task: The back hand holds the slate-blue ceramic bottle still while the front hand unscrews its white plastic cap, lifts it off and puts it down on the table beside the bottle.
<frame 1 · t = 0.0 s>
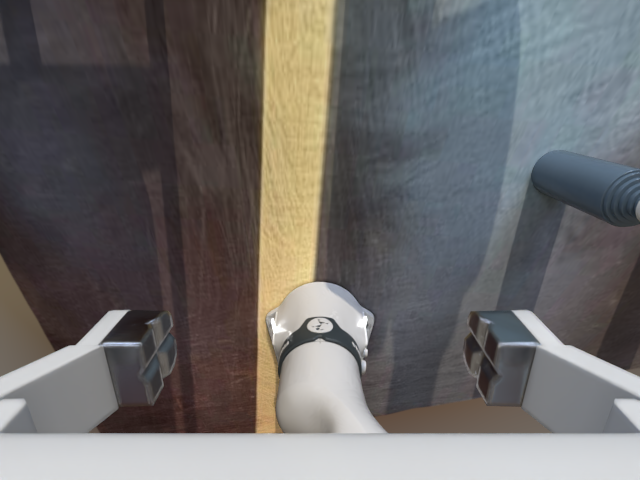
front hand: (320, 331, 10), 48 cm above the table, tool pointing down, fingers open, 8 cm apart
bottle: (554, 172, 57), on the table
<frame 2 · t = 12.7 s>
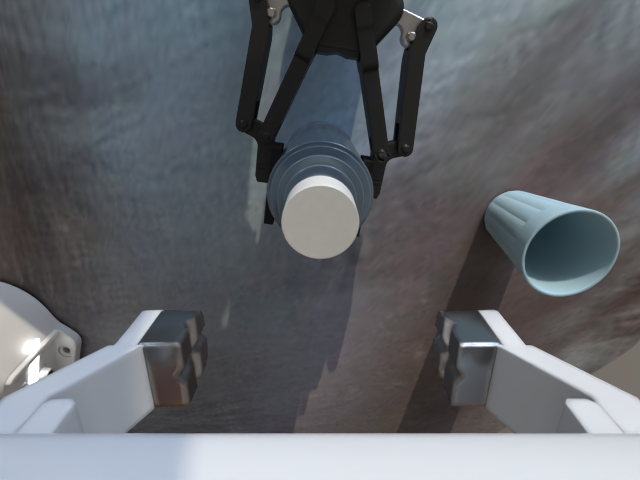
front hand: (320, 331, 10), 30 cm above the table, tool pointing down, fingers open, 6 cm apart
back hand: (311, 224, 34), fingers closed on bottle, 7 cm apart
cap: (320, 221, 19), point 20 cm above the table, screwed on, not yet turned
cup: (509, 215, 40), on the table
bottle: (320, 156, 38), on the table, touching back hand
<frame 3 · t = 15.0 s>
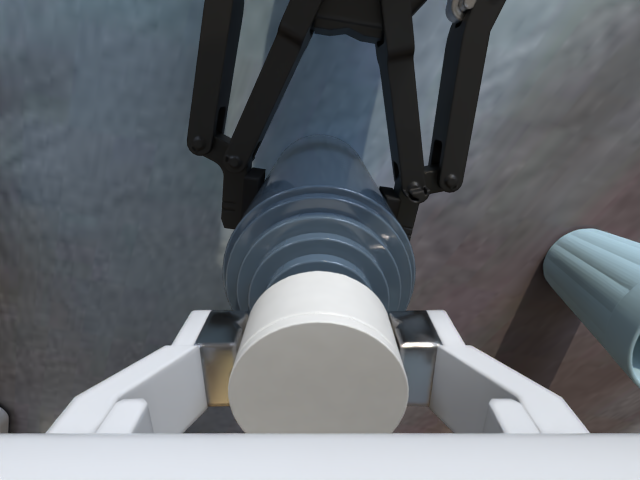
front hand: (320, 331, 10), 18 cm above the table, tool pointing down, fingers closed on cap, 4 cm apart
cap: (318, 388, 8), point 20 cm above the table, screwed on, not yet turned, touching front hand
cup: (576, 260, 30), on the table
bottle: (319, 182, 27), on the table, touching back hand
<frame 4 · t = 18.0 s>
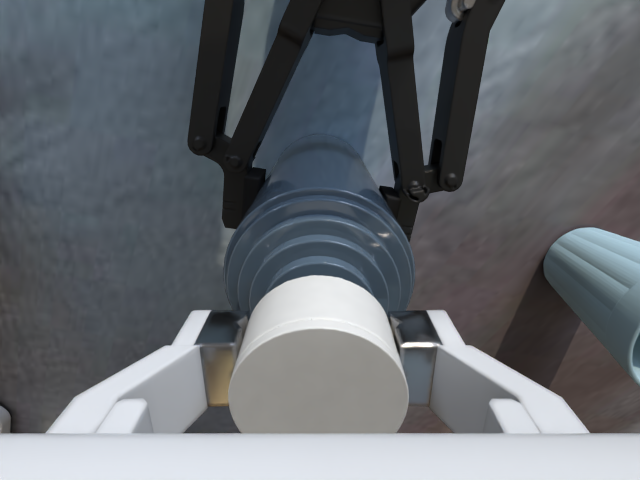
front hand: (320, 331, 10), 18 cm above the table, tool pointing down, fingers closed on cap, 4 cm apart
cap: (318, 393, 8), point 20 cm above the table, turned 88° so far, risen 0.1 cm, still on its thread, touching front hand
cup: (576, 259, 30), on the table
bottle: (319, 182, 27), on the table, touching back hand
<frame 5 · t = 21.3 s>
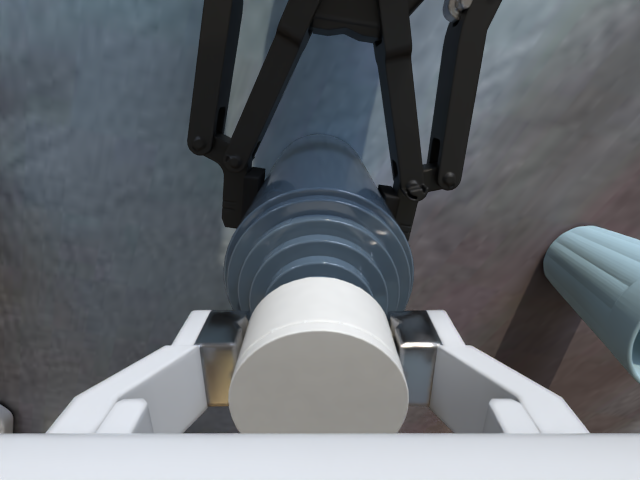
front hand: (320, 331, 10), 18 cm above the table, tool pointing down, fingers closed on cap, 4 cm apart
cap: (318, 395, 8), point 21 cm above the table, turned 176° so far, risen 0.2 cm, still on its thread, touching front hand
cup: (576, 257, 30), on the table
bottle: (318, 181, 27), on the table, touching back hand
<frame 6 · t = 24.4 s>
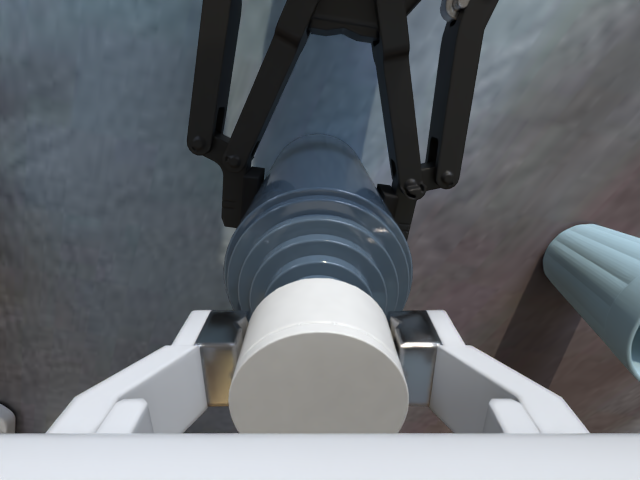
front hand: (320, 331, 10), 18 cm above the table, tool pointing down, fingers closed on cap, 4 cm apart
cap: (318, 396, 8), point 21 cm above the table, turned 264° so far, risen 0.3 cm, still on its thread, touching front hand
cup: (576, 255, 30), on the table
bottle: (317, 181, 27), on the table, touching back hand
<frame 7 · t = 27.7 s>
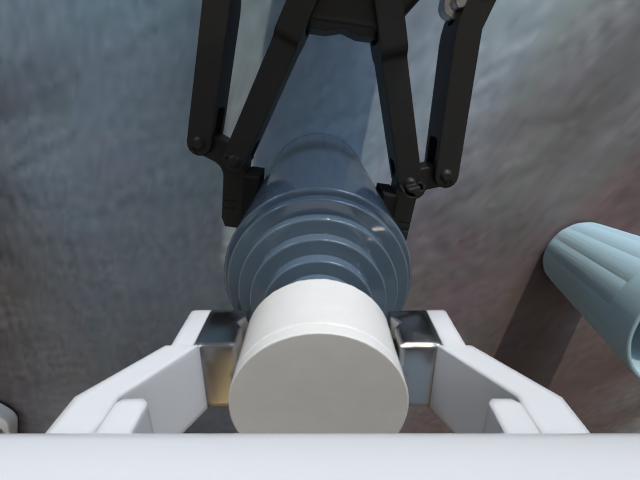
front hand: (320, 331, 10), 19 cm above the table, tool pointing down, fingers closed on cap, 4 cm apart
cap: (318, 397, 8), point 21 cm above the table, turned 352° so far, risen 0.4 cm, still on its thread, touching front hand
cup: (576, 253, 30), on the table
bottle: (317, 181, 28), on the table, touching back hand
when the front hand's fingers open (2 cm above the table, at t = 38.1 s): cap drops 2 cm, point 2 cm above the table.
when the back hand's fingers open (6 cm above the table, at t = 39.2 s): bottle stays where it is, on the table.
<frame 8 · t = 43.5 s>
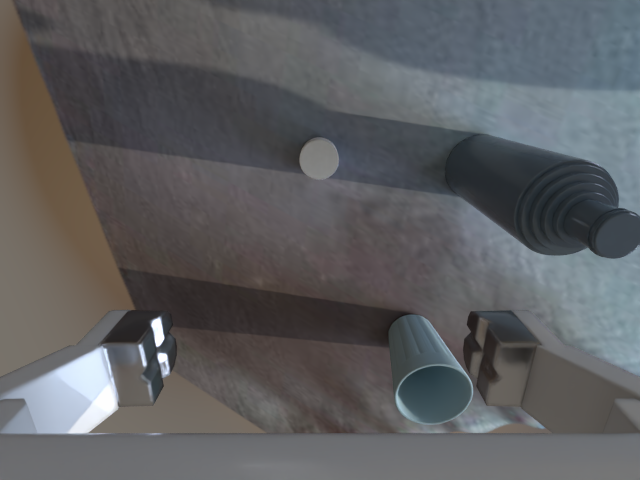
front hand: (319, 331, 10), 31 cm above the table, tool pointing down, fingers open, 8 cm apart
cap: (319, 159, 37), point 2 cm above the table, off its thread
cup: (409, 331, 47), on the table
bottle: (477, 167, 40), on the table
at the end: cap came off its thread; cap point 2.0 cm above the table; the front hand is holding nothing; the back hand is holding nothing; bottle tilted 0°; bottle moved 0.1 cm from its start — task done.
